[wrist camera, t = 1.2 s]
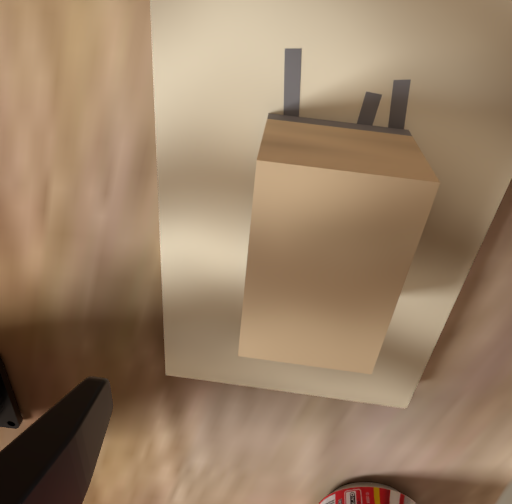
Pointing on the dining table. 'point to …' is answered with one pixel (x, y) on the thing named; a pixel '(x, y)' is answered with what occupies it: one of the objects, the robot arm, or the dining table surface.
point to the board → (334, 109)
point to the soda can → (366, 495)
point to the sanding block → (331, 240)
